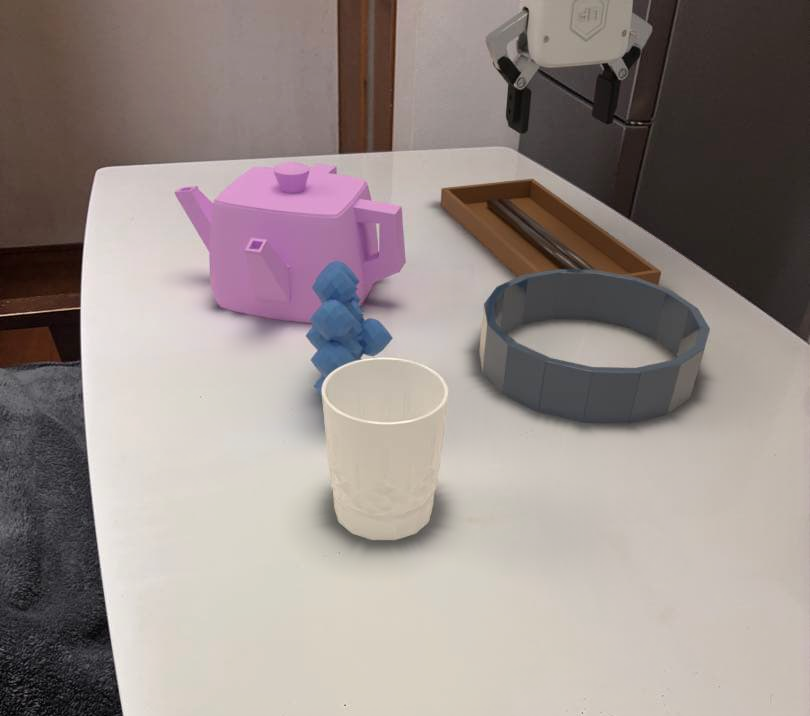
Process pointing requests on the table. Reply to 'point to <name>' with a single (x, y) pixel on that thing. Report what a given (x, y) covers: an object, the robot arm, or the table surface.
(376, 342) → the grapes
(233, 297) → the teakettle
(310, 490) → the table surface
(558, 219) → the tray
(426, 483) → the white cup
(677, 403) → the ring
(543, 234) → the chopsticks
